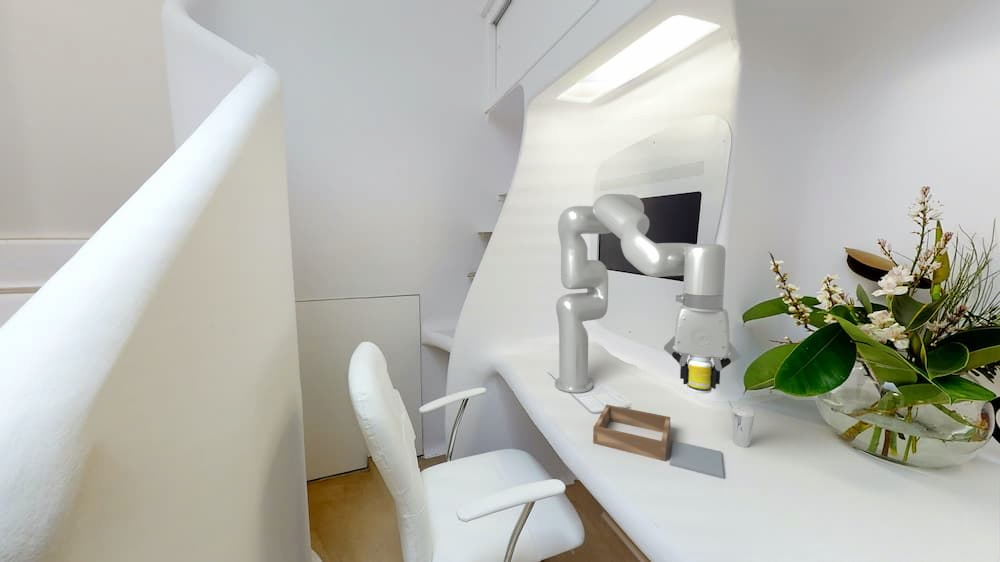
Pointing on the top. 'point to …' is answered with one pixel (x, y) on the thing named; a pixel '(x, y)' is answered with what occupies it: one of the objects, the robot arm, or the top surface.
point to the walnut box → (631, 441)
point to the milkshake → (742, 424)
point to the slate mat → (697, 459)
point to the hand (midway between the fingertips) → (699, 383)
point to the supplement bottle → (699, 374)
